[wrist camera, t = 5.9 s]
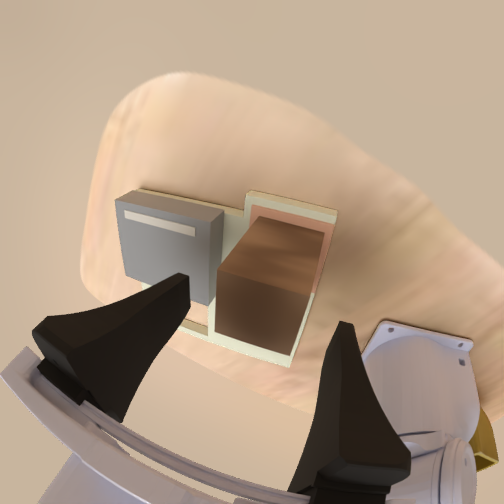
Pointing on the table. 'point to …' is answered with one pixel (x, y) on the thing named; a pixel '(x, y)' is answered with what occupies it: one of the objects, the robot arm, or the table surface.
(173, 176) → the table surface
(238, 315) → the walnut block
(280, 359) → the puzzle board
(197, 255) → the sliding cover
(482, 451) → the flower pot
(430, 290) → the table surface
